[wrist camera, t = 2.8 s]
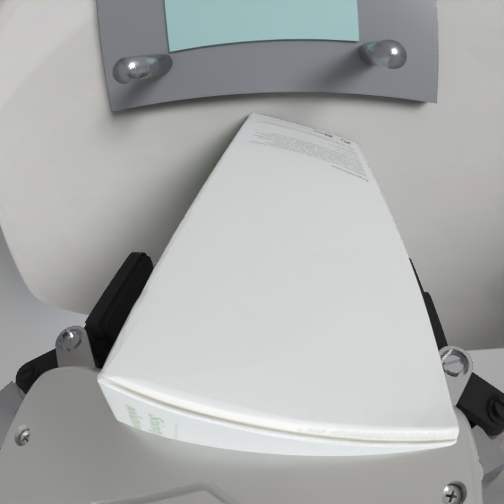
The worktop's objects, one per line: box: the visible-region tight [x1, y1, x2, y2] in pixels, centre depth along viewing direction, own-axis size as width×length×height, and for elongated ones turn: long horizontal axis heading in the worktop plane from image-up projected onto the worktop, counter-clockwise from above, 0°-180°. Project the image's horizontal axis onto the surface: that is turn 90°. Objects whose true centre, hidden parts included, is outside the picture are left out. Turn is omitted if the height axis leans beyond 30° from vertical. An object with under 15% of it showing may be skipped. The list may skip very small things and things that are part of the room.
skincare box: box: [97, 113, 459, 456], centre depth 12 cm, size 8×7×16 cm
